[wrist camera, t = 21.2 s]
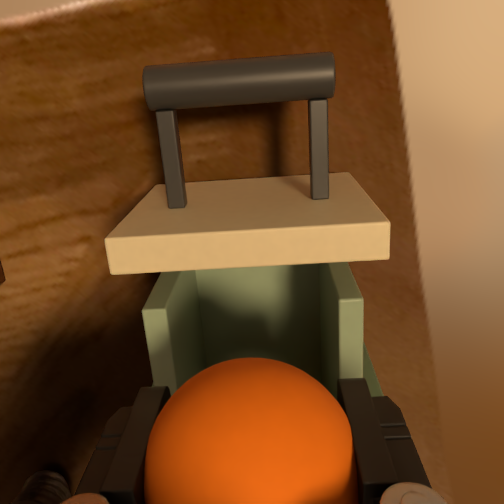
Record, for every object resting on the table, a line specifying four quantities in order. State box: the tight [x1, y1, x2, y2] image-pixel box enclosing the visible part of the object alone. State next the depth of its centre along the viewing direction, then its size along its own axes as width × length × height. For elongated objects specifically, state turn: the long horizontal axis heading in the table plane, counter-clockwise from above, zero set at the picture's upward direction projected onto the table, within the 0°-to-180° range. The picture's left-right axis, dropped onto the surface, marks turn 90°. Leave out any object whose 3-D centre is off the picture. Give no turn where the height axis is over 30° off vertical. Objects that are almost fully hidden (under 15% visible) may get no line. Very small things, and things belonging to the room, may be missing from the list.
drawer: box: [104, 52, 390, 400], centre depth 19 cm, size 17×8×7 cm, turn 4°
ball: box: [144, 358, 358, 504], centre depth 11 cm, size 5×5×5 cm
